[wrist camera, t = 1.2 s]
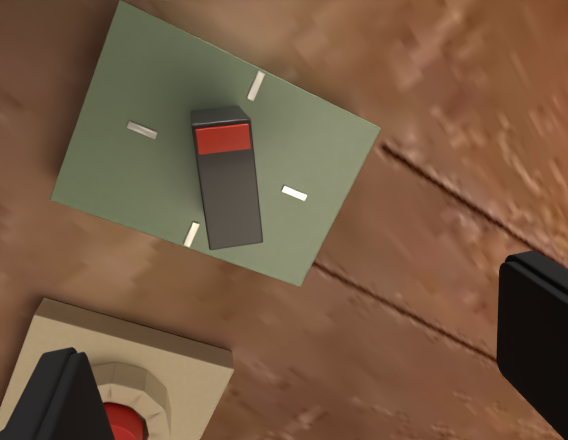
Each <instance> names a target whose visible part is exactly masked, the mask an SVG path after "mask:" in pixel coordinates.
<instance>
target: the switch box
mask: <svg viewBox="0 0 568 440" xmlns="http://www.w3.org/2000/svg"><path fill="white" fill-rule="evenodd" d="M70 347H73V348H75V349H76V351H77V353H80V352H85V353H86V355H87V357H88V360H89V363H90V366H91V369H92V372H93V375H94V378H95V381H96V384H97V386H98V389H99V392H100V395H101V398H102V401H103V403H118V404H122V405H125V406H127V407H129V408H131V409H132V410H134V411H135V412H136V413H137V414H138V415H139V417H140V418H141V420H142V423H143V439H142V440H200V438H201V436H202V434H203V432H204V430H205V428H206V426H207V424H208V422H209V420H210V418H211V416H212V414H213V412H214V410H215V408H216V406H217V404H218V402H219V400H220V398H221V396H222V394H223V392H224V390H225V388H226V386H227V384H228V382H229V380H230V378H231V376H232V374H233V372H234V364H233V357H232V352H231V351H229V350H225V349H222V348H218V347H215V346H211V345H208V344H204V343H201V342H197V341H194V340H190V339H187V338H183V337H180V336H176V335H173V334H169V333H166V332H162V331H159V330H155V329H152V328H148V327H145V326H141V325H138V324H134V323H131V322H127V321H124V320H121V319H117V318H114V317H110V316H107V315H103V314H100V313H96V312H93V311H89V310H86V309H82V308H79V307H75V306H72V305H68V304H65V303H61V302H58V301H54V300H51V299H47V298H44V299H43V300H42V302H41V304H40V305H39V307H38V309H37V310H36V312H35V314H34V316H33V319H32V321H31V324H30V327H29V330H28V332H27V335H26V338H25V341H24V344H23V346H22V349H21V352H20V355H19V357H18V360H17V363H16V366H15V368H14V371H13V374H12V377H11V379H10V382H9V385H8V388H7V390H6V393H5V396H4V399H3V401H2V404H1V407H0V431H1V430H3V429H4V428H5V426H6V424H7V422H8V420H9V418H10V416H11V414H12V412H13V410H14V408H15V406H16V404H17V402H18V401H19V399H20V397H21V395H22V393H23V391H24V389H25V387H26V385H27V383H28V381H29V379H30V377H31V375H32V373H33V371H34V369H35V367H36V365H37V363H38V361H39V359H40V357H41V355H42V354H43V353H46V352H50V351H55V350H60V349H65V348H70Z"/></svg>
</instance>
